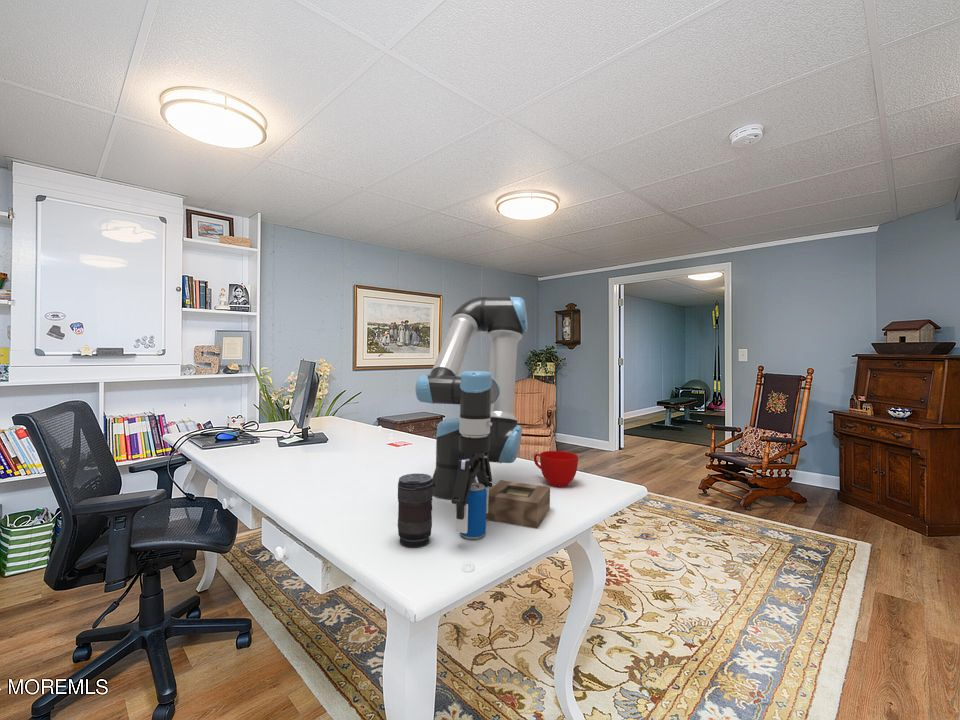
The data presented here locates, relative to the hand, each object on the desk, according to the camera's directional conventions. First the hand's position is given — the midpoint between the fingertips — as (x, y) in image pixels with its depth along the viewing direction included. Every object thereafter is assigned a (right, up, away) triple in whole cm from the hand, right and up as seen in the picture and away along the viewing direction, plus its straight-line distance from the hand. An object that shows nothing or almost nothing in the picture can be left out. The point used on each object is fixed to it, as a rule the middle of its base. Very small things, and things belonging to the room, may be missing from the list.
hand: (472, 521), depth 107 cm
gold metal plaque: (+12, +1, +15) cm, 19 cm away
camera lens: (-14, -3, -4) cm, 15 cm away
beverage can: (0, -4, 0) cm, 4 cm away
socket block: (+12, -3, +15) cm, 19 cm away
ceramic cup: (+27, -3, +45) cm, 53 cm away
